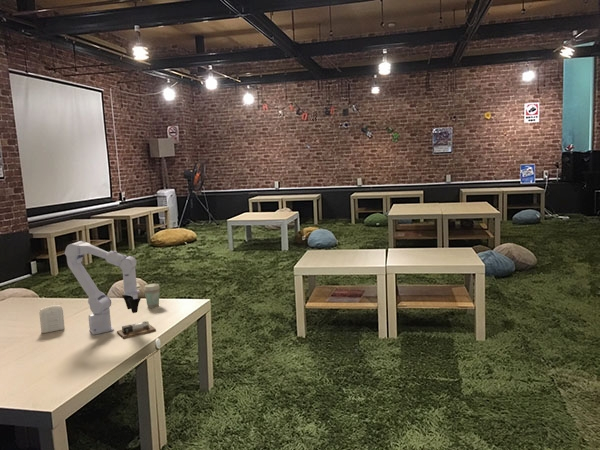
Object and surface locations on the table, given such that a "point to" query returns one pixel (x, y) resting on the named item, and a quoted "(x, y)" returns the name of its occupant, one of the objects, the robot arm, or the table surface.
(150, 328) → the tool board
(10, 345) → the table surface
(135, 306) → the robot arm
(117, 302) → the table surface
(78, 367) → the table surface
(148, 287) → the coffee cup
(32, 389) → the table surface
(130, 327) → the lever door handle
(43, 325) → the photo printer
